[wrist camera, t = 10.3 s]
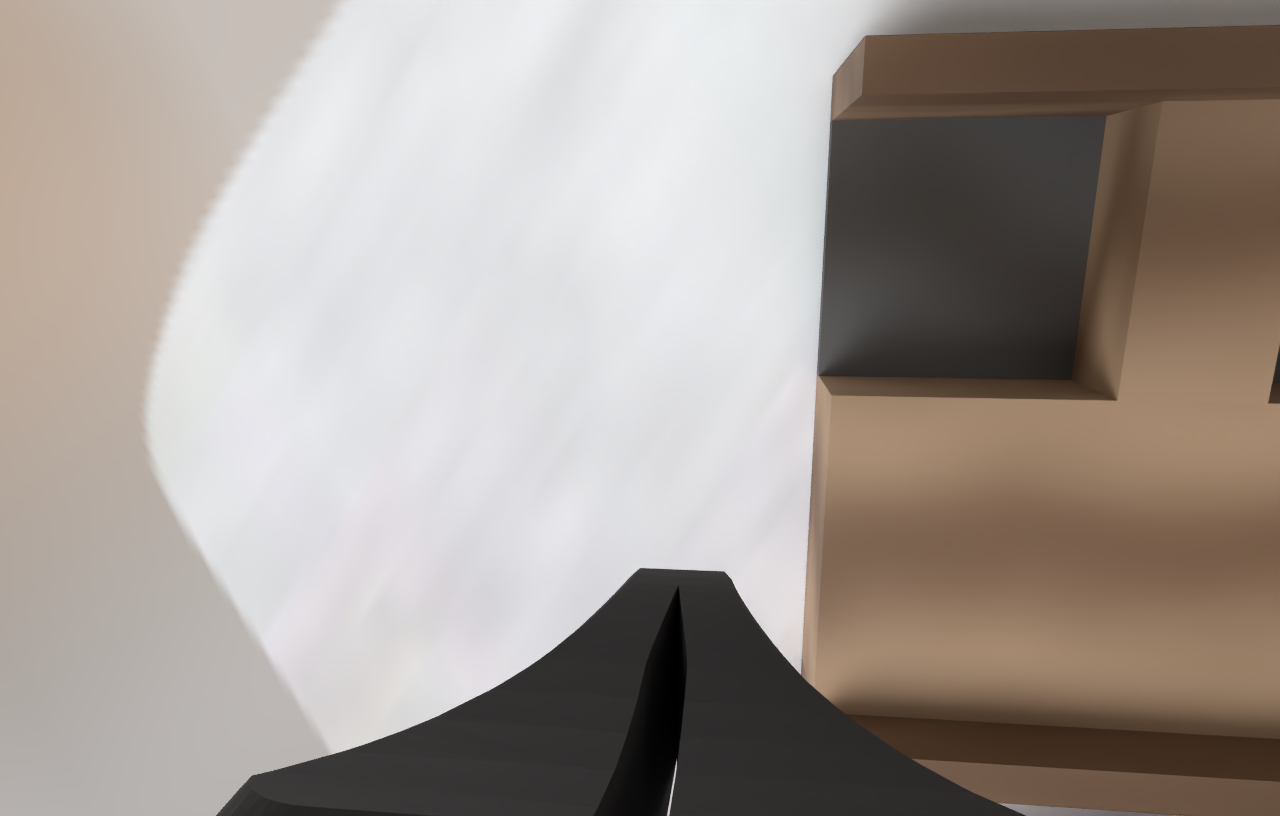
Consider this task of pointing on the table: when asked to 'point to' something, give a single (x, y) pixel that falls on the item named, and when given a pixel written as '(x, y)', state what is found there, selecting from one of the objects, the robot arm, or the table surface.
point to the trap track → (1055, 414)
